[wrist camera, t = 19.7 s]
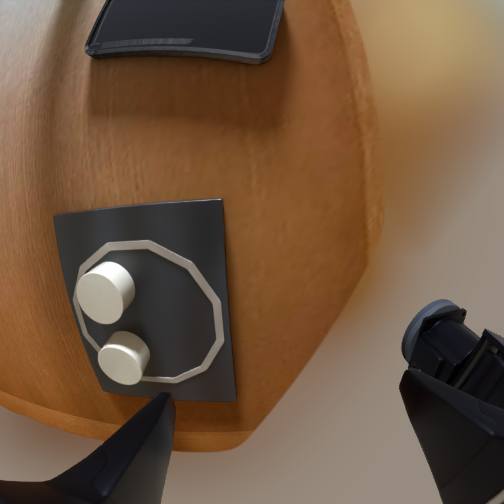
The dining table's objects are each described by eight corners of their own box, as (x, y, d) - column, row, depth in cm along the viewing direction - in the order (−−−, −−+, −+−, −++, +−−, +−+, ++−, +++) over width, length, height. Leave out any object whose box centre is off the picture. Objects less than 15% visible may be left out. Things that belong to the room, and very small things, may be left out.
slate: (223, 198, 18) (221, 199, 17) (236, 394, 23) (236, 402, 22) (59, 213, 18) (52, 215, 17) (106, 385, 23) (102, 391, 22)
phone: (113, -12, 11) (287, -11, 13) (117, -7, 12) (285, -4, 14) (80, 57, 13) (269, 62, 15) (86, 61, 14) (268, 68, 16)
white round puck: (130, 260, 18) (116, 272, 16) (139, 309, 19) (128, 325, 17) (87, 262, 18) (71, 272, 16) (97, 308, 19) (84, 322, 17)
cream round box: (144, 331, 20) (134, 348, 18) (154, 369, 21) (147, 387, 19) (103, 329, 20) (91, 344, 17) (115, 365, 21) (106, 382, 19)
